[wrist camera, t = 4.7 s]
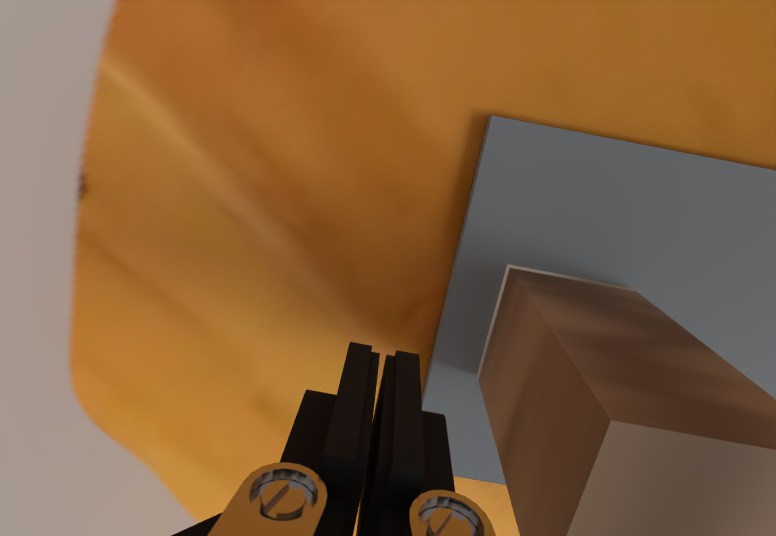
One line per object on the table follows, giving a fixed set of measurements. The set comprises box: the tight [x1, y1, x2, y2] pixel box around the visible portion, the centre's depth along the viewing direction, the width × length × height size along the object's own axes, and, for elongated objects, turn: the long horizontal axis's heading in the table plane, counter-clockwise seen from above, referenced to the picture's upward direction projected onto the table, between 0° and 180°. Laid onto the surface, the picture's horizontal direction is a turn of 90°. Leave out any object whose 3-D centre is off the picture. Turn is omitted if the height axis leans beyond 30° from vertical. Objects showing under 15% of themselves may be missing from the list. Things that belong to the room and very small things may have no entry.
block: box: [477, 264, 776, 536], centre depth 13 cm, size 4×4×9 cm
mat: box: [421, 115, 776, 485], centre depth 18 cm, size 22×14×1 cm, turn 80°
